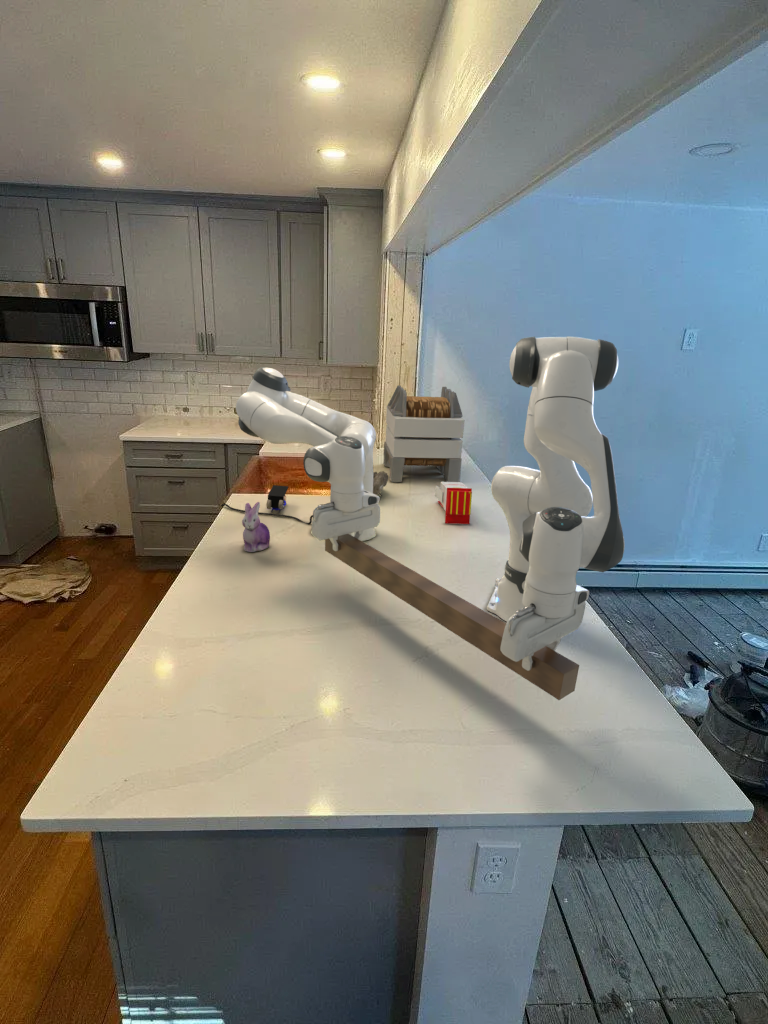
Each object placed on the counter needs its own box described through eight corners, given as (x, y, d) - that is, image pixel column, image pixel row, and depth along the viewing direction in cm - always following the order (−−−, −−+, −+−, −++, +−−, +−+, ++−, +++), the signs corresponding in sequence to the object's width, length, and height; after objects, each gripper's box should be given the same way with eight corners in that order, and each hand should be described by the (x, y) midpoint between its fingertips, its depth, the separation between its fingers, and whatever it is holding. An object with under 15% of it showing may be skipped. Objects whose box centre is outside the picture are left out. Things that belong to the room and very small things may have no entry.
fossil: (357, 477, 248) (384, 458, 243) (370, 494, 251) (397, 476, 246) (349, 498, 228) (379, 478, 223) (364, 515, 231) (393, 496, 226)
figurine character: (284, 518, 213) (289, 501, 226) (283, 500, 209) (288, 484, 223) (266, 517, 212) (272, 500, 226) (265, 499, 209) (271, 483, 223)
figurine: (246, 555, 177) (244, 510, 172) (238, 543, 186) (236, 499, 181) (275, 550, 181) (274, 506, 176) (266, 539, 190) (265, 496, 185)
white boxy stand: (382, 463, 289) (386, 382, 275) (445, 464, 293) (451, 384, 279) (390, 482, 257) (394, 392, 243) (460, 483, 261) (468, 394, 247)
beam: (325, 550, 158) (325, 531, 156) (339, 546, 161) (339, 528, 159) (559, 700, 101) (563, 674, 100) (574, 690, 104) (579, 665, 102)
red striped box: (463, 477, 236) (476, 489, 206) (461, 509, 239) (474, 525, 209) (433, 476, 235) (443, 488, 206) (432, 508, 238) (441, 524, 209)
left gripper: (320, 509, 140) (319, 560, 145) (384, 496, 153) (382, 543, 157) (306, 502, 145) (306, 552, 150) (370, 490, 157) (368, 536, 162)
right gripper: (526, 622, 94) (516, 691, 98) (594, 589, 106) (582, 652, 111) (496, 606, 98) (488, 673, 103) (565, 576, 110) (555, 637, 115)
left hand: (346, 547), depth 154 cm, fingers closed on beam, 5 cm apart
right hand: (538, 662), depth 107 cm, fingers closed on beam, 5 cm apart
